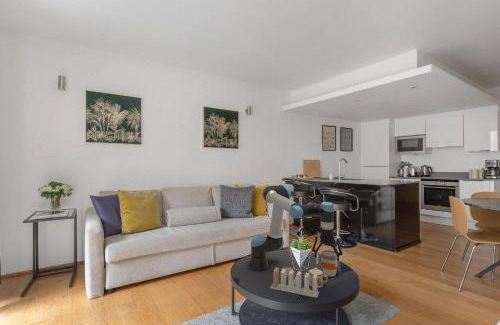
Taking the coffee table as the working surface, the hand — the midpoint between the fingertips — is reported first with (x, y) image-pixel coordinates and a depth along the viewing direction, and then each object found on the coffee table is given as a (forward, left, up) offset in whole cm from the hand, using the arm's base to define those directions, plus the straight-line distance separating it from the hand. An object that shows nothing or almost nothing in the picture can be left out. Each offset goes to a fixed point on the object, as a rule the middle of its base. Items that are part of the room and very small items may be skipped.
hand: (326, 264), depth 160 cm
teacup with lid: (-7, +13, -20) cm, 25 cm away
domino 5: (-12, 0, -19) cm, 23 cm away
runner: (-20, 0, -20) cm, 28 cm away
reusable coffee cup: (-2, +35, -20) cm, 41 cm away
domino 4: (-17, 0, -19) cm, 26 cm away
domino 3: (-22, 0, -19) cm, 29 cm away
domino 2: (-27, 0, -19) cm, 33 cm away
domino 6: (-7, 0, -19) cm, 21 cm away
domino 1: (-32, 0, -19) cm, 37 cm away
